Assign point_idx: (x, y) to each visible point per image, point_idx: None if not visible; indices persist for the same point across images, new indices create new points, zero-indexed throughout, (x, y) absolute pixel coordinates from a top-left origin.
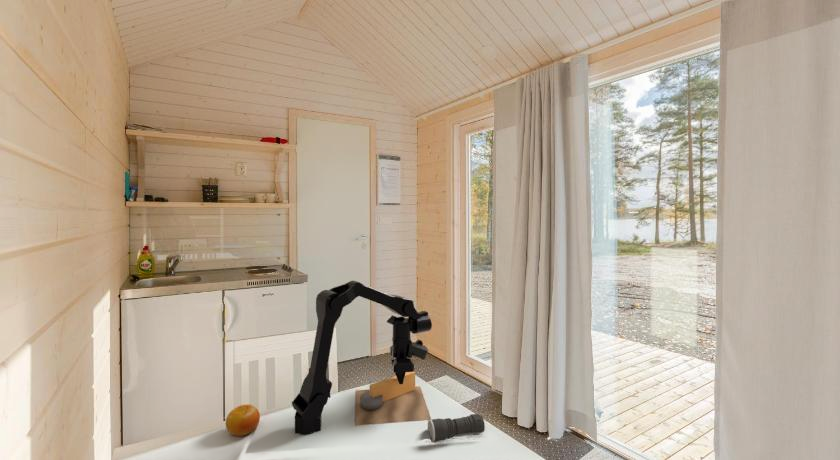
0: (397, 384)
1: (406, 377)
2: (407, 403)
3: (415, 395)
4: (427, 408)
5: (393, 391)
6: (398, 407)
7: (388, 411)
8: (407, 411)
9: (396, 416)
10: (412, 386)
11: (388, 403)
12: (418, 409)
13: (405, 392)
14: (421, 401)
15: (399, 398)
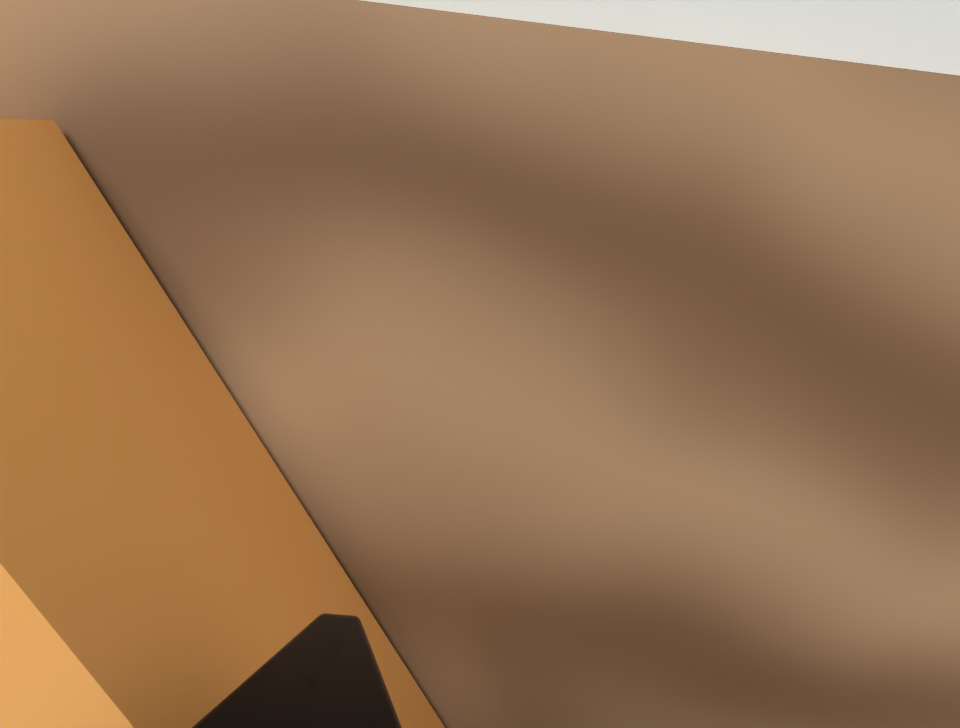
0: None
1: (23, 495)
2: (602, 399)
3: (316, 176)
4: (912, 72)
5: None
6: (686, 561)
7: (756, 709)
8: (863, 450)
9: (933, 625)
10: (55, 204)
11: (511, 682)
12: (876, 255)
13: (206, 371)
14: (606, 117)
15: (379, 498)
